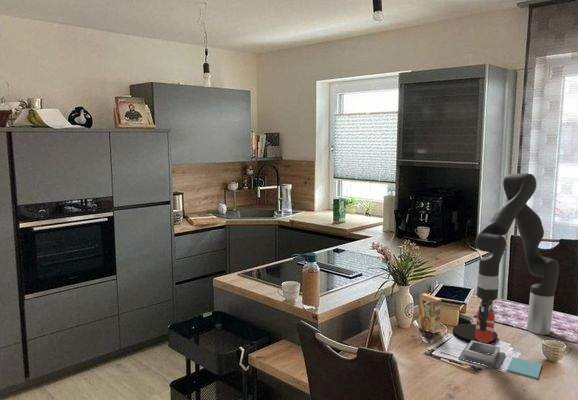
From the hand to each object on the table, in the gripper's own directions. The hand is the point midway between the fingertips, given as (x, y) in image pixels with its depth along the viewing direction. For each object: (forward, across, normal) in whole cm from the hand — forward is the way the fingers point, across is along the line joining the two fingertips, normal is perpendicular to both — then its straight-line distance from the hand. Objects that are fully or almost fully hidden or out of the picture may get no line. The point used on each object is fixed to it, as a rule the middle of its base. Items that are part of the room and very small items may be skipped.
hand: (484, 327), depth 181 cm
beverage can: (+5, 0, 0) cm, 5 cm away
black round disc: (+13, -19, -7) cm, 24 cm away
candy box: (+12, -13, -25) cm, 31 cm away
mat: (+12, 0, +15) cm, 19 cm away
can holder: (+12, 0, 0) cm, 12 cm away
